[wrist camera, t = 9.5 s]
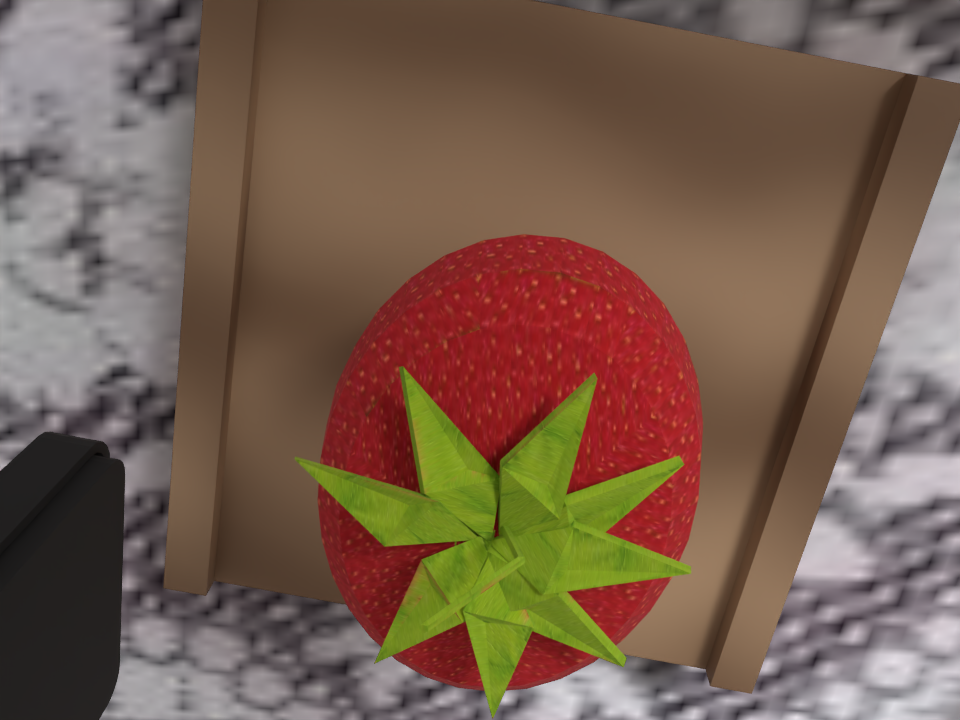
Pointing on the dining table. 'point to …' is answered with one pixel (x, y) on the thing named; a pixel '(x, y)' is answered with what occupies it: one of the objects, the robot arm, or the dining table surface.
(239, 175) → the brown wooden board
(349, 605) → the strawberry
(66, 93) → the dining table surface
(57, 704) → the robot arm
